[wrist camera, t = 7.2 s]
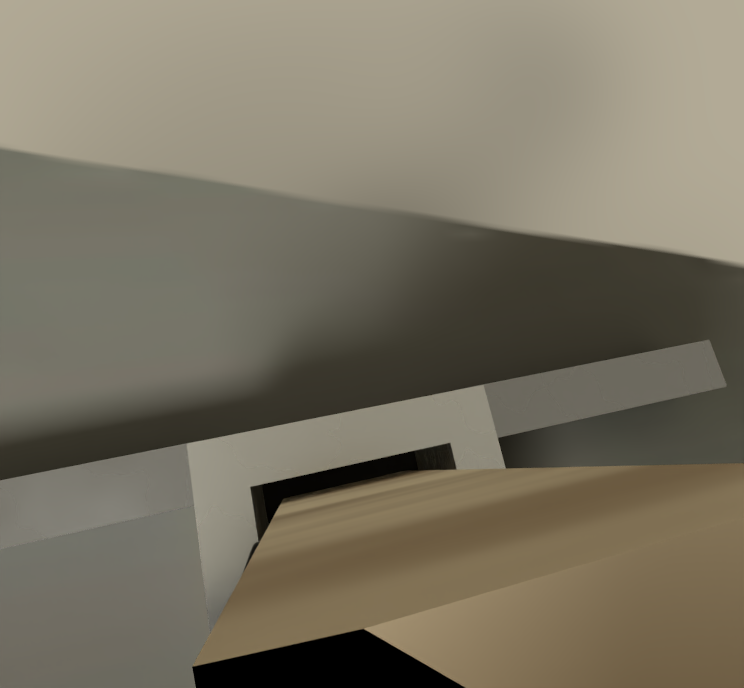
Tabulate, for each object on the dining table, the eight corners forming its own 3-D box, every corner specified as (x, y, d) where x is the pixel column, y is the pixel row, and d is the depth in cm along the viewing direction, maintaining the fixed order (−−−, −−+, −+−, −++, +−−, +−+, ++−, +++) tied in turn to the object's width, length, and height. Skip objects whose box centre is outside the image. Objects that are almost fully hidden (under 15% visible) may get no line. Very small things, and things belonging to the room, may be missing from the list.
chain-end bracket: (739, 570, 18) (870, 600, 14) (-130, 845, 13) (-339, 1029, 9) (662, 354, 20) (758, 323, 16) (-124, 512, 15) (-294, 529, 10)
